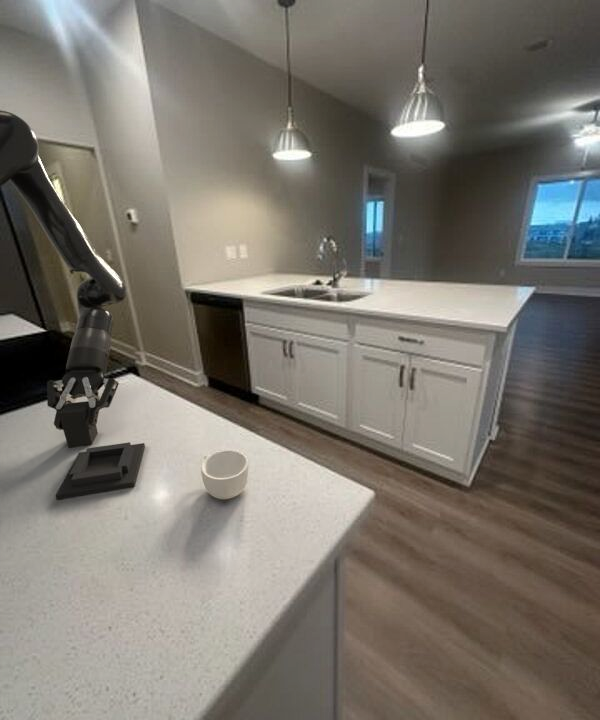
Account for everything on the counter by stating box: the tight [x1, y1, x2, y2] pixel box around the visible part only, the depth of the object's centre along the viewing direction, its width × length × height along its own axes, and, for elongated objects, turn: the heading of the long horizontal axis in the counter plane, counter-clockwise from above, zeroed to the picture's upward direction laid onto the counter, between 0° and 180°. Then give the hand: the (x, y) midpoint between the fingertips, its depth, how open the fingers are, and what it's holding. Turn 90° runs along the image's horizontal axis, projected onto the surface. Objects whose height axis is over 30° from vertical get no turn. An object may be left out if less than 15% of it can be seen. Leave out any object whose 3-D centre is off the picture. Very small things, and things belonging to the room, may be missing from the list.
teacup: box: [200, 449, 250, 500], centre depth 59 cm, size 10×8×5 cm
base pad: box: [55, 442, 146, 501], centre depth 63 cm, size 12×12×2 cm
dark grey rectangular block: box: [59, 400, 99, 449], centre depth 71 cm, size 4×4×8 cm
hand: (74, 428), depth 70 cm, fingers closed on dark grey rectangular block, 5 cm apart
